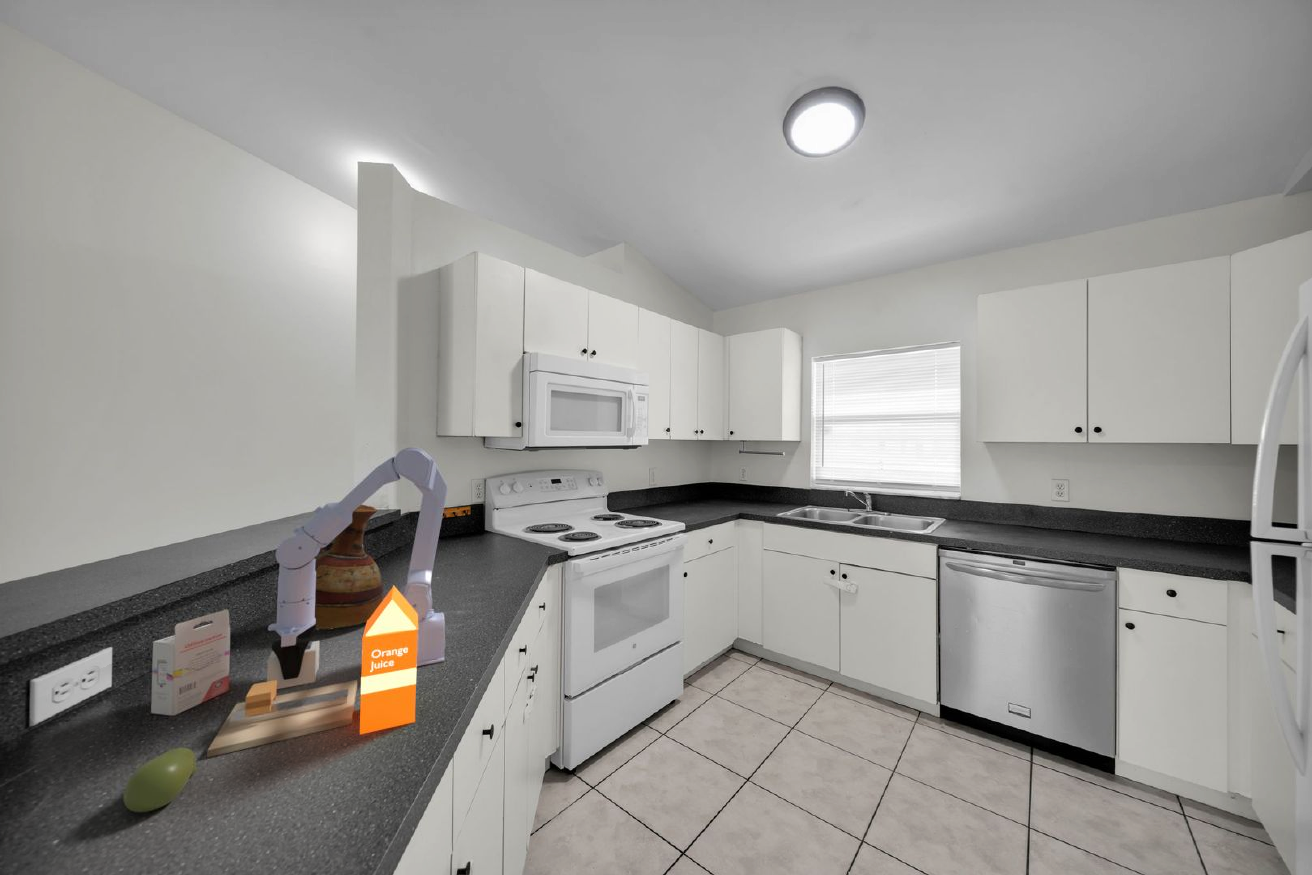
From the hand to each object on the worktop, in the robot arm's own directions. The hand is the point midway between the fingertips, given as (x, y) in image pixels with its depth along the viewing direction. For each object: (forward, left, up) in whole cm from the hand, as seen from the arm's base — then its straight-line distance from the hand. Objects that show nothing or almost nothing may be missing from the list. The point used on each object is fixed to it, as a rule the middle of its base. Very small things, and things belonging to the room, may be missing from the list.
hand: (294, 671), depth 88 cm
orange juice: (-16, +22, -2) cm, 27 cm away
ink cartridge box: (+14, +1, -2) cm, 14 cm away
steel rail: (-2, +15, -2) cm, 15 cm away
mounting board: (-2, +15, -2) cm, 15 cm away
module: (0, 0, -2) cm, 2 cm away
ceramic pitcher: (-4, -31, -2) cm, 31 cm away
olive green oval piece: (+9, +28, -2) cm, 30 cm away
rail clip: (+2, +15, 0) cm, 15 cm away
